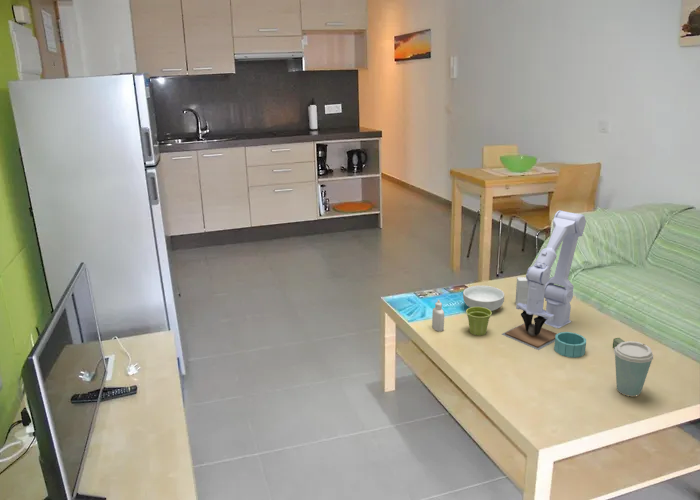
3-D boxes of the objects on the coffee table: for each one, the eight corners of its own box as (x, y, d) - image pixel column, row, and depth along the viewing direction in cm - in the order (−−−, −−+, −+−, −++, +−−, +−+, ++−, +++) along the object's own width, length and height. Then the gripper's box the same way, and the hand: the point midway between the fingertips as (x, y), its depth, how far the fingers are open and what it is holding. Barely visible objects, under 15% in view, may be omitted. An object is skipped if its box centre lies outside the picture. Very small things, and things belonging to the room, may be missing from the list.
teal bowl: (564, 341, 199) (565, 329, 197) (590, 352, 191) (591, 339, 190) (548, 350, 193) (549, 337, 191) (574, 361, 185) (576, 348, 184)
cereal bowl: (461, 299, 237) (462, 284, 235) (500, 300, 235) (501, 285, 233) (463, 316, 221) (464, 300, 219) (506, 317, 219) (507, 301, 217)
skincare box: (529, 303, 231) (531, 277, 228) (531, 307, 227) (533, 280, 224) (514, 303, 232) (516, 276, 228) (516, 307, 228) (518, 280, 224)
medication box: (611, 348, 194) (612, 338, 193) (618, 347, 194) (619, 337, 193) (636, 365, 183) (637, 354, 181) (643, 363, 183) (644, 353, 182)
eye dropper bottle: (443, 325, 213) (444, 297, 210) (443, 332, 208) (444, 303, 204) (432, 325, 214) (432, 296, 210) (432, 331, 209) (433, 302, 205)
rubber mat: (526, 322, 214) (526, 322, 214) (563, 337, 202) (564, 336, 202) (501, 335, 205) (501, 334, 205) (538, 351, 193) (538, 350, 193)
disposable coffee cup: (629, 404, 161) (636, 359, 157) (600, 386, 171) (606, 343, 166) (655, 395, 165) (662, 351, 161) (625, 378, 175) (631, 336, 170)
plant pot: (462, 336, 205) (463, 315, 202) (467, 325, 213) (468, 305, 210) (488, 340, 201) (489, 318, 199) (492, 329, 210) (493, 308, 207)
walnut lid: (527, 323, 212) (528, 314, 211) (560, 336, 202) (561, 327, 201) (505, 334, 204) (505, 325, 203) (537, 348, 194) (538, 338, 193)
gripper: (512, 295, 202) (509, 328, 206) (547, 307, 191) (543, 342, 195) (523, 290, 206) (521, 323, 210) (558, 302, 195) (554, 336, 199)
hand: (532, 332), depth 203 cm, fingers closed on walnut lid, 3 cm apart
